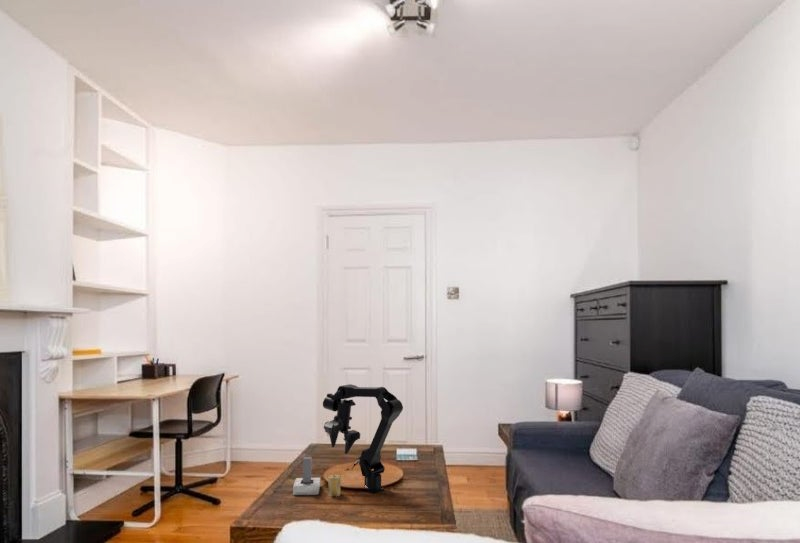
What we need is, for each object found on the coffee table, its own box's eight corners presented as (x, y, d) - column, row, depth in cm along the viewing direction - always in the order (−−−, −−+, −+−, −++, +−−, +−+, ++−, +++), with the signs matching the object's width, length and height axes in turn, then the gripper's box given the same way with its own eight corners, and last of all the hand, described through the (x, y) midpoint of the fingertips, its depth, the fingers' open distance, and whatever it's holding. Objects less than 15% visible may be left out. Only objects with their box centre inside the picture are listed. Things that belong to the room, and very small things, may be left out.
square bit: (311, 489, 214) (311, 456, 215) (310, 491, 210) (311, 458, 211) (303, 489, 213) (303, 456, 214) (302, 492, 210) (303, 459, 211)
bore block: (320, 486, 217) (320, 477, 218) (318, 494, 207) (318, 485, 208) (296, 486, 216) (296, 478, 217) (293, 495, 207) (293, 486, 207)
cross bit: (343, 494, 207) (343, 476, 208) (333, 497, 204) (334, 479, 204) (334, 491, 211) (334, 473, 211) (325, 494, 207) (325, 476, 207)
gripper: (315, 410, 225) (311, 446, 225) (342, 421, 212) (337, 460, 211) (336, 408, 233) (332, 442, 233) (363, 419, 220) (358, 456, 219)
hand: (339, 450), depth 224 cm, fingers open, 9 cm apart
